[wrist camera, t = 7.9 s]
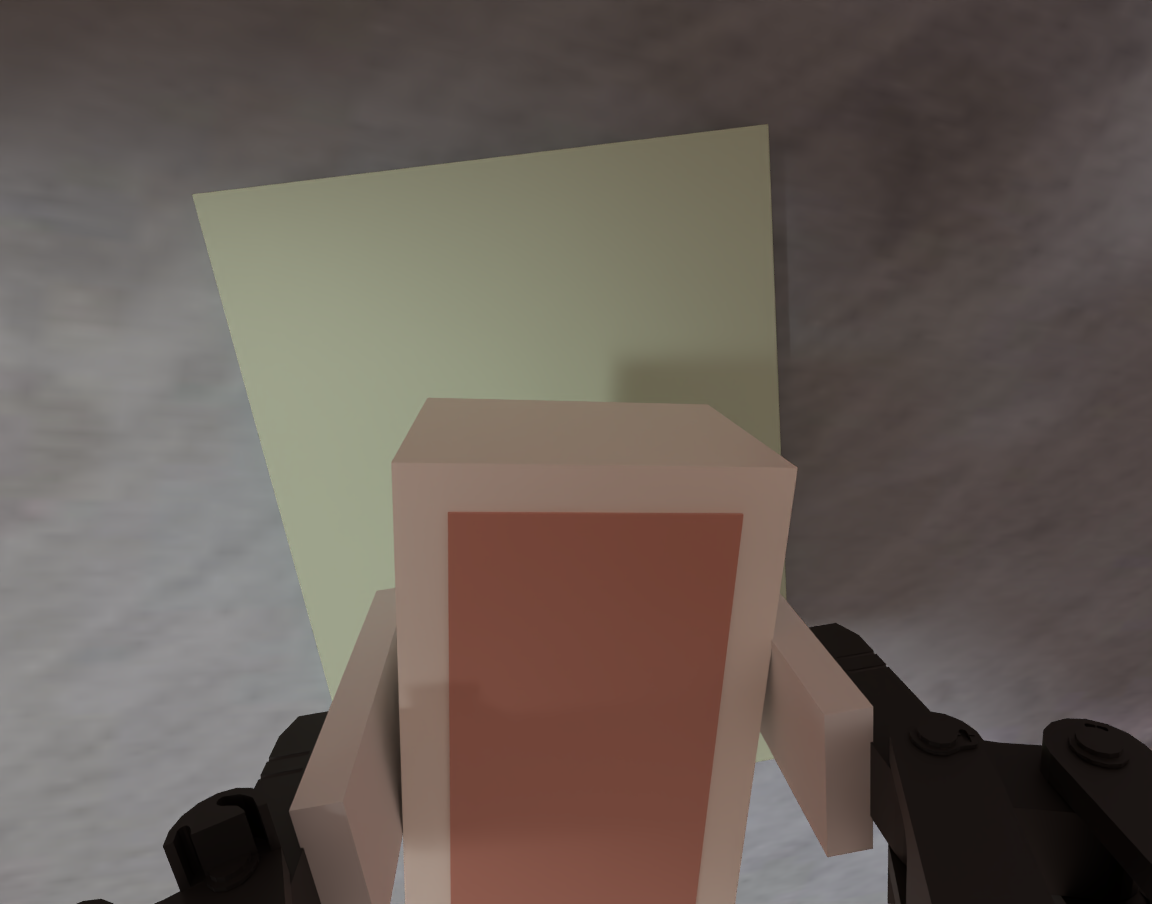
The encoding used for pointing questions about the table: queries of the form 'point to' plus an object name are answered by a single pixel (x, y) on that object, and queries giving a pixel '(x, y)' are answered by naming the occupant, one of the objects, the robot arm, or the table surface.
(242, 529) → the table surface
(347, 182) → the mat
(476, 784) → the card box
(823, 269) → the table surface
